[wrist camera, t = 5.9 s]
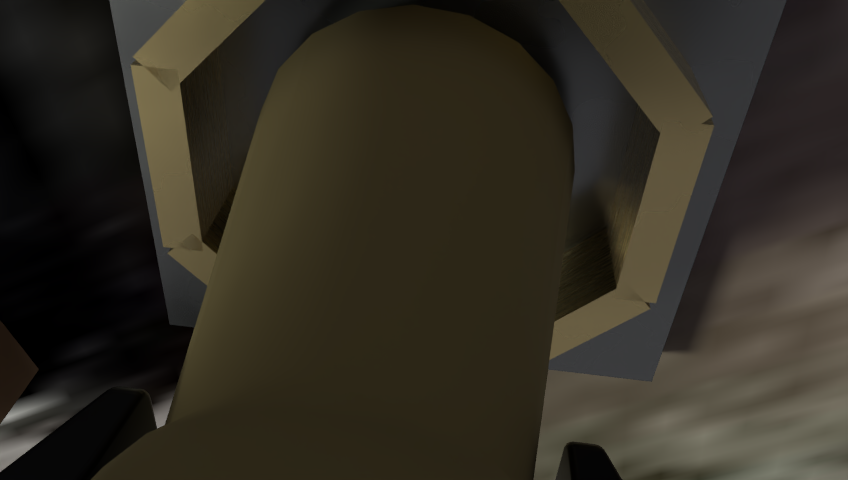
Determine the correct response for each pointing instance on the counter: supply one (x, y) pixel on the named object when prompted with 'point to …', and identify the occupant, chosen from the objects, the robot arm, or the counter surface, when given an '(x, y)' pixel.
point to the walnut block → (12, 371)
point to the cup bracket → (582, 97)
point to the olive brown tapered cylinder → (381, 267)
